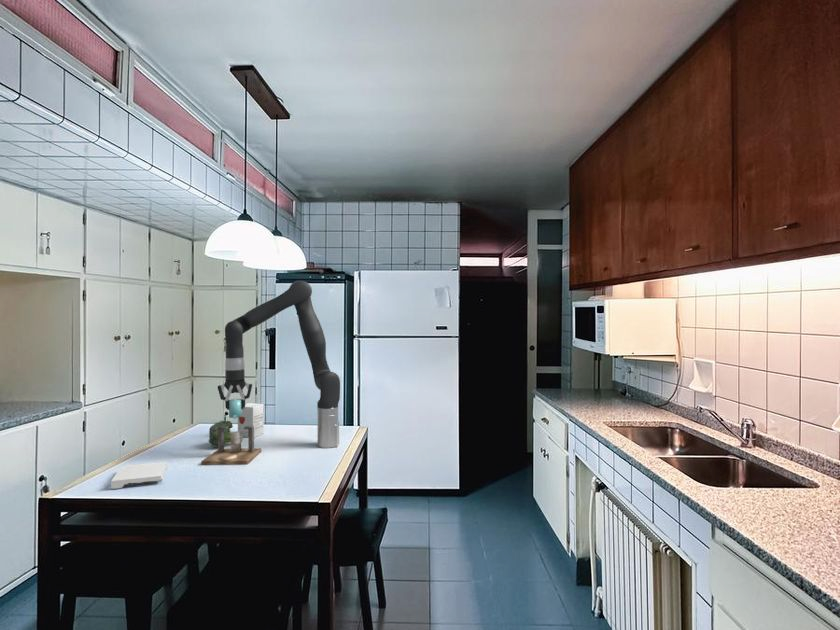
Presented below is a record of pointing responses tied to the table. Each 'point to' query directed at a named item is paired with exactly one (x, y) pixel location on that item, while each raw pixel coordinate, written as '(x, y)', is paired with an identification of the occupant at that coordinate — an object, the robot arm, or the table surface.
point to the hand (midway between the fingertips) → (235, 408)
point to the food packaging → (139, 474)
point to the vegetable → (214, 433)
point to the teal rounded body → (235, 408)
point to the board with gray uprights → (233, 449)
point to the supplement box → (252, 419)
